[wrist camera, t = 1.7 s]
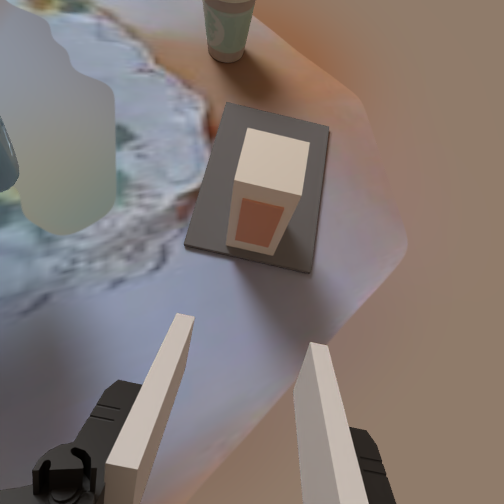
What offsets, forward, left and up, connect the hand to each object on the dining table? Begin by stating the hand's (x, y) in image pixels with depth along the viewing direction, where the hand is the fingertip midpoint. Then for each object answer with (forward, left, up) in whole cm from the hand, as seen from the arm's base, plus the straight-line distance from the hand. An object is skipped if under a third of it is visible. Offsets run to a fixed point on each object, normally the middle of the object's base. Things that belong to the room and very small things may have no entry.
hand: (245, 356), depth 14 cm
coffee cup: (-34, +38, -24) cm, 57 cm away
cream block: (-9, +16, -24) cm, 30 cm away
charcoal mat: (-13, +23, -24) cm, 36 cm away
